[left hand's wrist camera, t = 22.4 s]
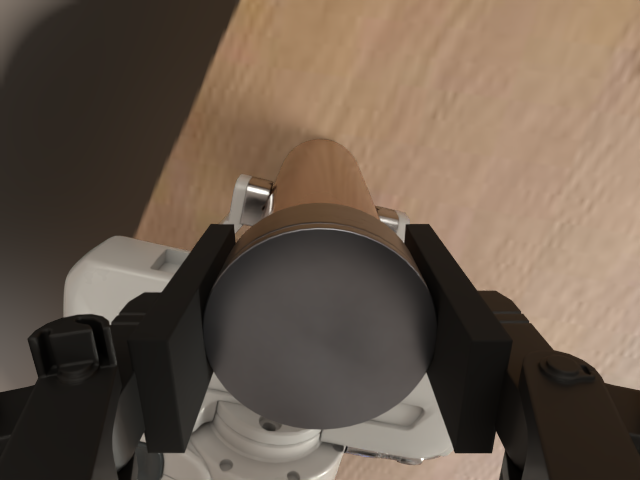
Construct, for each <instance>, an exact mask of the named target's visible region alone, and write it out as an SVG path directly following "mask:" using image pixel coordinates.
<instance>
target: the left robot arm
mask: <svg viewBox="0 0 640 480" xmlns="http://www.w3.org/2000/svg"><path fill="white" fill-rule="evenodd" d="M235 244H236V243H235V230H234V224H210V226H209V227H208V229H207V230H206V231H205V233H204V234H203V236H202V237H201V238H200V240H199V241H198V242H197V244H196V245H195V247H194V248H193V249H192V251H191V252H190V253H189V255H188V256H187V258H186V259H185V260H184V262H183V263H182V265H181V266H180V267H179V269H178V270H177V271H176V273H175V274H174V276H173V277H172V278H171V280H170V281H169V283H168V284H167V285H166V287H165V288H164V289H163V291H162V292H144V293H142V294H140V295H139V296H137V297H136V298H134V299H132V300H131V301H129V302H128V303H127V304H126V305H125V306H124V308H123V309H122V310H121V311H120V312H119V315H117V316H116V317H115V318H114V320H113V321H112V322H111V325H110V323H109V320H107V319H106V318H105V317H103V316H100V315H94V314H79V315H73V316H69V317H64V318H61V319H58V320H55V321H53V322H50V323H47V324H46V325H44V326H42V327H41V328H39V329H37V330H36V331H35V332H34V333H33V334H32V335H31V336H30V337H29V338H28V343H29V346H30V350H31V353H32V357H33V360H34V364H35V367H36V371H37V374H38V380H37V382H36V384H35V385H33V386H29V387H25V388H20V389H15V390H10V391H5V392H0V480H137V476H138V464H137V458H136V453H135V450H136V448H137V446H138V443H139V441H140V439H141V437H142V435H143V433H144V435H145V441H146V446H147V451H148V453H185V451H186V448H187V445H188V442H189V440H190V437H191V434H192V431H193V428H194V426H195V423H196V420H197V417H198V414H199V412H200V409H201V406H202V403H203V400H204V397H205V395H206V392H207V389H208V386H209V383H210V381H211V378H212V375H213V372H214V371H213V369H212V367H211V366H210V363H209V360H208V358H207V355H206V351H205V346H204V338H203V328H202V324H203V314H204V310H205V306H206V302H207V299H208V296H209V294H210V292H211V289H212V287H213V285H214V283H215V281H216V279H217V277H218V275H219V273H220V271H221V269H222V267H223V265H224V263H225V261H226V259H227V257H228V255H229V253H230V252H231V250H232V249H233V247H234V245H235ZM404 244H405V245H406V247H407V248H408V250H409V251H410V253H411V255H412V257H413V259H414V261H415V263H416V265H417V267H418V269H419V271H420V273H421V275H422V277H423V279H424V281H425V283H426V285H427V287H428V289H429V291H430V293H431V295H432V298H433V302H434V305H435V308H436V314H437V321H438V325H437V335H436V344H435V352H434V355H433V358H432V361H431V363H430V366H429V368H428V370H427V372H426V373H427V376H428V379H429V381H430V384H431V387H432V390H433V393H434V395H435V398H436V401H437V404H438V407H439V409H440V412H441V415H442V418H443V421H444V424H445V426H446V429H447V432H448V435H449V438H450V440H451V443H452V446H453V449H454V452H455V453H492V450H493V444H494V439H495V434H496V432H497V434H498V436H499V438H500V440H501V442H502V444H503V446H504V448H505V453H504V458H503V463H502V468H501V473H500V478H499V480H640V390H635V389H630V388H625V387H620V386H615V385H611V384H607V383H604V381H603V379H602V377H601V376H600V374H599V373H598V372H597V371H596V369H595V368H593V367H592V366H591V365H589V364H588V363H586V362H585V361H583V360H581V359H579V358H577V357H575V356H572V355H570V354H567V353H563V352H559V351H555V350H553V349H552V348H551V346H550V345H549V344H548V343H547V342H546V341H545V339H544V338H543V337H542V336H541V335H540V333H539V332H538V331H537V330H536V329H535V327H534V326H533V325H532V324H531V323H529V320H528V319H527V318H526V317H525V316H524V314H521V311H520V310H519V309H518V307H517V306H516V305H515V304H514V303H513V301H512V300H510V299H508V298H507V297H505V296H503V295H502V294H500V293H499V292H497V291H477V290H476V288H475V287H474V286H473V284H472V283H471V282H470V280H469V279H468V277H467V276H466V275H465V273H464V272H463V271H462V269H461V268H460V266H459V265H458V264H457V262H456V261H455V259H454V258H453V257H452V255H451V254H450V253H449V251H448V250H447V248H446V247H445V246H444V244H443V243H442V241H441V240H440V239H439V237H438V236H437V235H436V233H435V232H434V230H433V229H432V228H431V226H430V225H429V224H406V226H405V240H404Z"/></svg>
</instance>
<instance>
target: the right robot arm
mask: <svg viewBox="0 0 640 480" xmlns="http://www.w3.org/2000/svg"><path fill="white" fill-rule="evenodd" d="M272 187H273V182H272V181H269V180H265V179H261V178H257V177H253V176H250V175H245V174H241V175H240V176H239V177H238V179H237V181H236V184H235V188H234V192H233V197H232V203H231V209H230V212H229V214H228V215H227V216H226V217H225V218H224V219H223V220H222V221H221V222H220V223H219V224H234V230H235V233H236V232H237V231H238V230H239V229H240V228H241V227H242V226H243V224H244V225H249V226H253V225H254V224H256V223H257V222H259V220H260V217H261V215H262V212H263V210H264V208H265V205H266V203H267V200H268V198H269V196H270V193H271V191H272ZM375 208H376V210H377V212H378V215H379V217H380V220H381V221H382V222H383V223H384V224H386V225H387V226H388V227H389V228H390V229H392V230H393V231H394V232H395V233H396V234H397V235H398V236H399V238H400V239H401V240H402V241H403V242H404V240H405V226H406V224H410V219H409V218H408V216H407V215H406V213H405V212H401V211H396V210H392V209H388V208H383V207H379V206H375ZM190 252H191V251H188V250H183V249H179V248H174V247H170V246H165V245H161V244H156V243H151V242H147V241H142V240H138V239H133V238H129V237H125V236H113V237H111V238H109V239H107V240H106V241H104V242H103V243H101V244H99V245H98V246H96V247H95V248H93V249H92V250H91V251H89V252H88V253H87V254H86V255H84V256H83V257H82V258H81V259H80V260H79V261H78V262H77V263H76V264H75V265H74V266H73V267H72V268H71V270H70V271H69V273H68V275H67V277H66V281H65V287H64V303H63V318H64V317H69V316H73V315H79V314H94V315H100V316H103V317H105V318H106V319H107V320H109V323H110V325H111V322H112V321H113V320H114V318H115V317H116V316H117V315H119V312H120V311H121V310H122V309H123V308H124V306H125V305H126V304H127V303H128V302H129V301H131V300H132V299H134V298H136V297H137V296H139V295H140V294H142V293H144V292H162V291H163V289H164V288H165V287H166V285H167V284H168V283H169V281H170V280H171V278H172V277H173V276H174V274H175V273H176V271H177V270H178V269H179V267H180V266H181V265H182V263H183V262H184V260H185V259H186V258H187V256H188V255H189V253H190ZM452 451H453V446H452V443H451V440H450V438H449V435H448V432H447V429H446V426H445V424H444V421H443V418H442V415H441V412H440V409H439V407H438V404H437V401H436V398H435V395H434V393H433V390H432V387H431V384H430V381H429V379H428V376H427V373H426V374H425V375H424V377H423V378H422V380H421V381H420V383H419V384H418V385H417V386H416V388H415V389H414V390H413V391H412V392H411V393H410V394H409V395H408V396H407V397H406V398H405V399H404V400H403V401H402V402H400V403H399V404H398V405H396V406H395V407H393V408H392V409H391V410H389V411H387V412H386V413H384V414H382V415H380V416H378V417H376V418H374V419H371V420H369V421H366V422H364V423H360V424H357V425H353V426H349V427H344V428H338V429H325V430H317V429H303V428H296V427H291V426H287V425H283V424H280V423H277V422H274V421H271V420H269V419H266V418H264V417H262V416H260V415H258V414H256V413H254V412H253V411H251V410H250V409H248V408H247V407H245V406H244V405H242V404H241V403H240V402H239V401H238V400H236V399H235V398H234V397H233V396H232V395H231V394H230V393H229V392H228V391H227V390H226V389H225V388H224V386H223V385H222V384H221V382H220V381H219V380H218V378H217V377H216V375H215V373H214V372H213V375H212V378H211V381H210V383H209V386H208V389H207V392H206V395H205V397H204V400H203V403H202V406H201V409H200V412H199V414H198V417H197V420H196V423H195V426H194V428H193V431H192V434H191V437H190V440H189V442H188V445H187V448H186V451H185V453H148V451H147V446H146V441H145V435H144V433H143V435H142V437H141V439H140V441H139V443H138V446H137V448H136V450H135V453H136V458H137V464H138V476H137V480H334V479H335V476H336V474H337V471H338V468H339V465H340V462H341V459H342V456H343V454H344V453H348V454H353V455H358V456H364V457H370V458H386V459H390V460H397V462H399V463H402V464H407V465H420V464H421V463H422V462H423V460H428V459H434V458H437V457H440V456H447V455H449V454H450V453H451V452H452Z"/></svg>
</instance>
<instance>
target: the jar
mask: <svg viewBox="0 0 640 480" xmlns="http://www.w3.org/2000/svg"><path fill="white" fill-rule="evenodd" d="M309 203H333V204H339V205H345V206H348V207H352V208H355V209H358V210H361V211H363V212H365V213H367V214H370V215H372V216H374V217H375V218H377V219H378V220H380V217H379V215H378V212H377V210H376V208H375V205H374V203H373V200H372V198H371V195H370V193H369V191H368V188H367V186H366V183H365V181H364V179H363V176H362V174H361V171H360V169H359V166H358V164H357V162H356V160H355V158H354V157H353V155H352V154H351V153H350V152H349V151H348V150H347V149H346V148H345V147H343V146H342V145H340V144H338V143H336V142H334V141H330V140H325V139H315V140H310V141H306V142H304V143H302V144H300V145H298V146H297V147H295V148H294V149H293V150H292V151H291V152H290V153H289V154H288V155H287V157H286V158H285V160H284V162H283V164H282V167H281V169H280V171H279V174H278V176H277V179H276V181H275V183H274V186H273V188H272V191H271V193H270V196H269V198H268V200H267V203H266V205H265V208H264V210H263V212H262V215H261V217H260V220H262V219H263V218H265V217H267V216H269V215H271V214H273V213H275V212H277V211H279V210H282V209H285V208H288V207H292V206H296V205H301V204H309ZM260 220H259V221H260ZM380 221H381V220H380Z"/></svg>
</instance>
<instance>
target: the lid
mask: <svg viewBox="0 0 640 480" xmlns="http://www.w3.org/2000/svg"><path fill="white" fill-rule="evenodd" d="M437 325H438V321H437V314H436V308H435V305H434V302H433V298H432V295H431V293H430V291H429V289H428V287H427V285H426V283H425V281H424V279H423V277H422V275H421V273H420V271H419V269H418V267H417V265H416V263H415V261H414V259H413V257H412V255H411V253H410V251H409V250H408V248H407V247H406V245H405V244H404V242H403V241H402V240H401V239H400V238H399V236H398V235H397V234H396V233H395V232H394V231H393V230H392V229H390V228H389V227H388V226H387V225H386V224H384V223H383V222H382V221H380V220H378V219H377V218H375V217H374V216H372V215H370V214H367V213H365V212H363V211H361V210H358V209H355V208H352V207H348V206H345V205H339V204H333V203H309V204H301V205H296V206H292V207H288V208H285V209H282V210H279V211H277V212H275V213H273V214H271V215H269V216H267V217H265V218H263V219H262V220H260V221H259V222H257V223H256V224H254V225H253V226H252V227H251V228H250V229H249V230H248V231H246V232H245V233H244V234H243V235H242V237H241V238H240V239H239V240H238V241H237V243H236V244H235V245H234V247H233V249H232V250H231V252H230V253H229V255H228V257H227V259H226V261H225V263H224V265H223V267H222V269H221V271H220V273H219V275H218V277H217V279H216V281H215V283H214V285H213V287H212V289H211V292H210V294H209V296H208V299H207V302H206V306H205V310H204V314H203V324H202V328H203V338H204V346H205V351H206V355H207V358H208V360H209V363H210V366H211V367H212V369H213V371H214V373H215V375H216V377H217V378H218V380H219V381H220V382H221V384H222V385H223V386H224V388H225V389H226V390H227V391H228V392H229V393H230V394H231V395H232V396H233V397H234V398H235V399H236V400H238V401H239V402H240V403H241V404H242V405H244V406H245V407H247V408H248V409H250V410H251V411H253V412H254V413H256V414H258V415H260V416H262V417H264V418H266V419H269V420H271V421H274V422H277V423H280V424H283V425H287V426H291V427H296V428H303V429H317V430H325V429H338V428H344V427H349V426H353V425H357V424H360V423H364V422H366V421H369V420H371V419H374V418H376V417H378V416H380V415H382V414H384V413H386V412H387V411H389V410H391V409H392V408H393V407H395V406H396V405H398V404H399V403H400V402H402V401H403V400H404V399H405V398H406V397H407V396H408V395H409V394H410V393H411V392H412V391H413V390H414V389H415V388H416V386H417V385H418V384H419V383H420V381H421V380H422V378H423V377H424V375H425V374H426V372H427V370H428V368H429V366H430V363H431V361H432V358H433V355H434V352H435V344H436V335H437Z"/></svg>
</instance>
